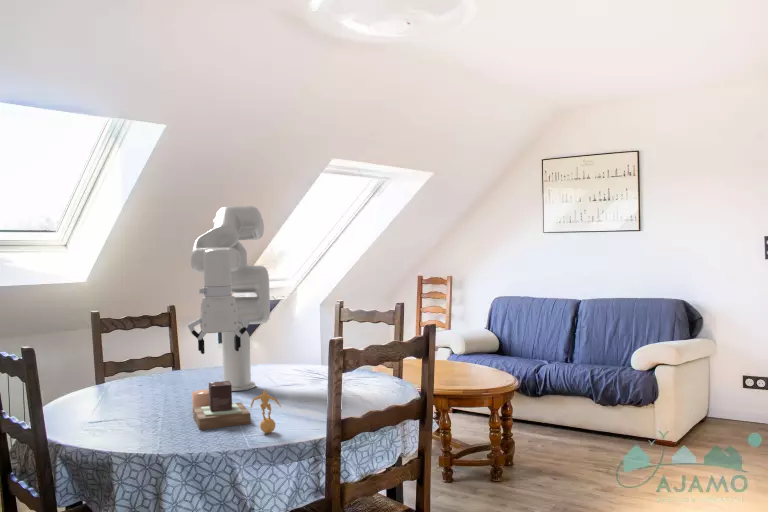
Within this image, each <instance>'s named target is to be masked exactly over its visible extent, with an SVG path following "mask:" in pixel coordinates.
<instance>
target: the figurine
mask: <svg viewBox="0 0 768 512" xmlns="http://www.w3.org/2000/svg"><path fill="white" fill-rule="evenodd" d="M256 400H260V401H261V403H260V408H261V411H262V412H261V413H262V418H263V419H262V420H261V422H260V426H259V427H260V430H261V432H262V433H264V434H270V433H273V432H274V431H275V428H276V422H275V420H274V419H273V418H271V413H272V412H271V411H272V407H271V406H272V405H271V403H269V400H272V401H274V402H276V404H277V405H279V408H282V405H281V403H280V402H279V401H278V400H277V398H275V397H273V396H271V395H269V394H268V391H267V390H266V389H264V390H263V392H262V393H261V394H260V395H258V396H256V397H254V398H253V399H252V400H251V404H250V409H252V408H253V406H254V402H255V401H256ZM266 409H267V410H269V411H268V413H267V415H268V416H267V417H266V416H265V415H266V412H265V411H266Z"/></svg>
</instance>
